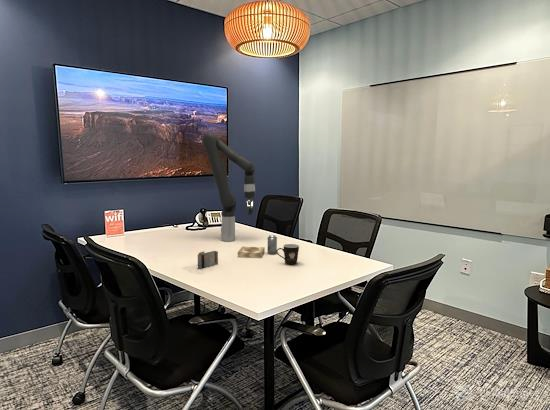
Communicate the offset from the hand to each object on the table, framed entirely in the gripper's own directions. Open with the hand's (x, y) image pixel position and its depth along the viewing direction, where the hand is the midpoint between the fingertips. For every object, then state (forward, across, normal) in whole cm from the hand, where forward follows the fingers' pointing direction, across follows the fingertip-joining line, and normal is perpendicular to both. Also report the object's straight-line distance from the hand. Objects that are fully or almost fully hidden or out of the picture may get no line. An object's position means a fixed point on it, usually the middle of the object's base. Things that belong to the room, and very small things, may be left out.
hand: (250, 214), depth 254 cm
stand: (+20, +35, +2) cm, 40 cm away
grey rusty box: (+21, +60, -19) cm, 66 cm away
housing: (+21, +32, +15) cm, 41 cm away
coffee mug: (+22, +52, +24) cm, 62 cm away
